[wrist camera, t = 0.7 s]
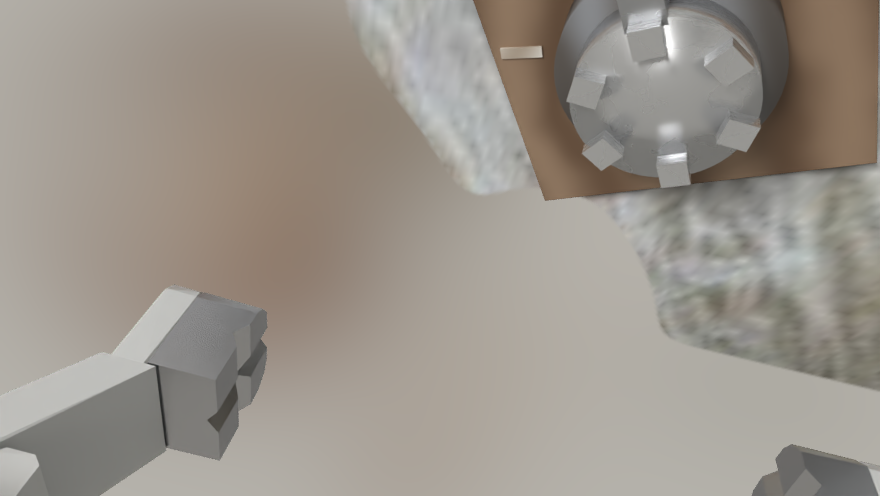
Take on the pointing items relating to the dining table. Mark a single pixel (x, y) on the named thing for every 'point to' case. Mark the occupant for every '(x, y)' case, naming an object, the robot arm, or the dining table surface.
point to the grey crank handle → (667, 89)
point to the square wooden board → (783, 79)
